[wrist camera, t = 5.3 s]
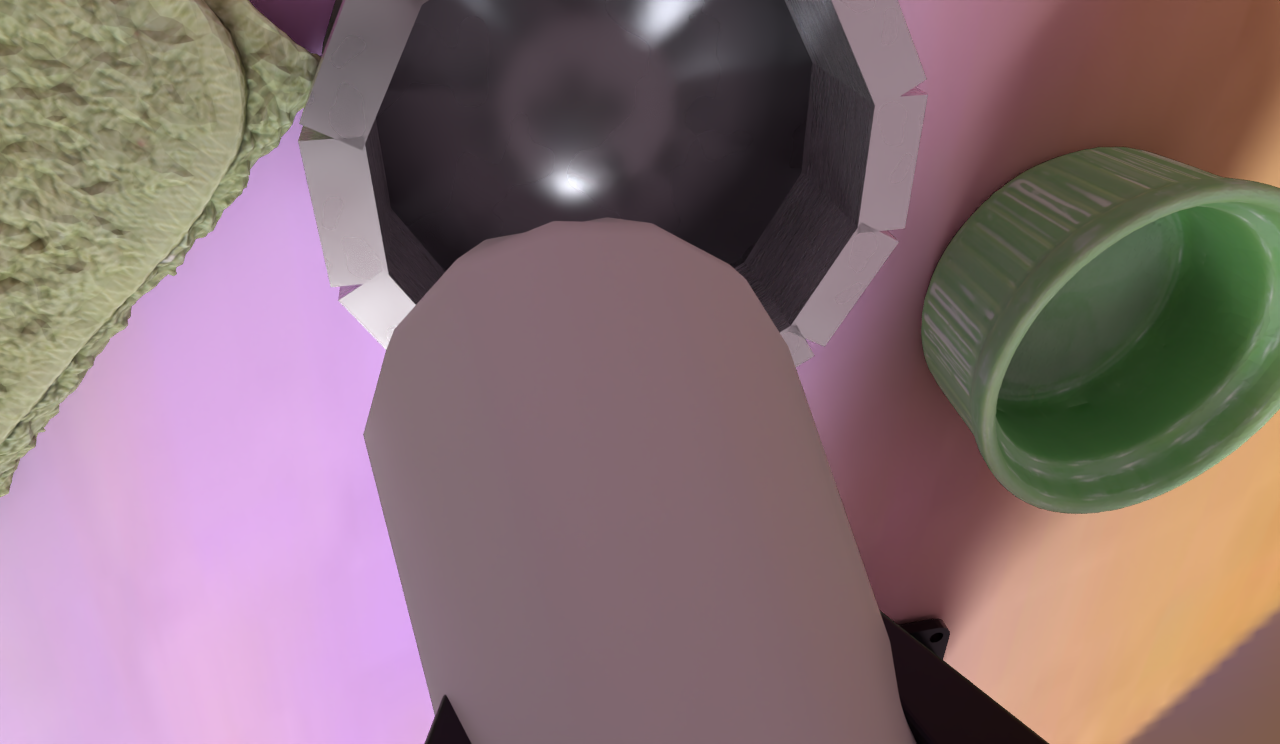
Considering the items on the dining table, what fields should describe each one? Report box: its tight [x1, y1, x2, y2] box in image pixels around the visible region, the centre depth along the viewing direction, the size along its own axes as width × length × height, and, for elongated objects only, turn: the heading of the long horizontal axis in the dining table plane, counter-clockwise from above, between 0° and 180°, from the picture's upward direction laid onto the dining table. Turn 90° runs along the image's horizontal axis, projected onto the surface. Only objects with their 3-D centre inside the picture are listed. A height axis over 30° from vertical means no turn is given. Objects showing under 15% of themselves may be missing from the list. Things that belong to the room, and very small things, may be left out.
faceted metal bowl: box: [298, 0, 928, 367], centre depth 17 cm, size 11×11×4 cm
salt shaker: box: [363, 217, 917, 744], centre depth 9 cm, size 6×6×13 cm
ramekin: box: [921, 147, 1280, 514], centre depth 22 cm, size 9×9×4 cm
